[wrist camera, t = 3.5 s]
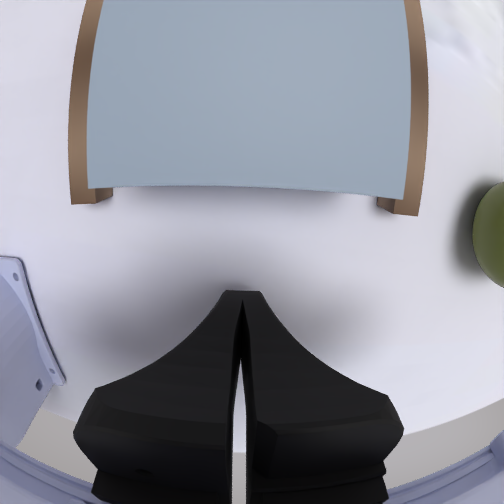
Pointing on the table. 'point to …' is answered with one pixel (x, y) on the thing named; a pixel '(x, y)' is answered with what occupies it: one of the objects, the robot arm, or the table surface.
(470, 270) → the table surface
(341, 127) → the block
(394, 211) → the chute
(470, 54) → the table surface
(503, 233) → the pear
